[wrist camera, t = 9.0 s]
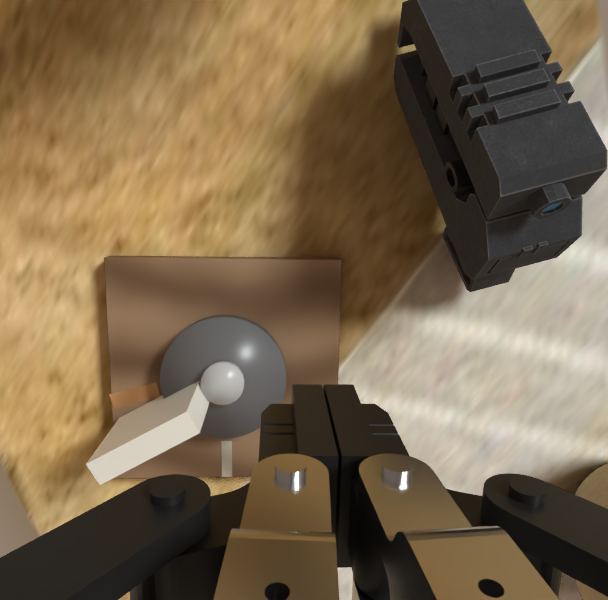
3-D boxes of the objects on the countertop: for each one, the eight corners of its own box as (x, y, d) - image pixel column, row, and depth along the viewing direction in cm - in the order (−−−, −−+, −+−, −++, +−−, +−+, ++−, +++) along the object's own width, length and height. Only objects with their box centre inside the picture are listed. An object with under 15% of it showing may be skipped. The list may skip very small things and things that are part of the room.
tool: (447, 314, 37) (511, 218, 23) (371, 105, 44) (385, -71, 29) (528, 293, 37) (641, 184, 23) (440, 87, 44) (487, -98, 30)
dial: (249, 293, 37) (244, 312, 30) (306, 396, 39) (314, 437, 32) (92, 376, 38) (52, 414, 31) (156, 475, 39) (131, 532, 32)
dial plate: (108, 255, 38) (101, 257, 37) (339, 258, 39) (341, 260, 38) (119, 468, 41) (113, 478, 40) (333, 465, 42) (335, 475, 41)
